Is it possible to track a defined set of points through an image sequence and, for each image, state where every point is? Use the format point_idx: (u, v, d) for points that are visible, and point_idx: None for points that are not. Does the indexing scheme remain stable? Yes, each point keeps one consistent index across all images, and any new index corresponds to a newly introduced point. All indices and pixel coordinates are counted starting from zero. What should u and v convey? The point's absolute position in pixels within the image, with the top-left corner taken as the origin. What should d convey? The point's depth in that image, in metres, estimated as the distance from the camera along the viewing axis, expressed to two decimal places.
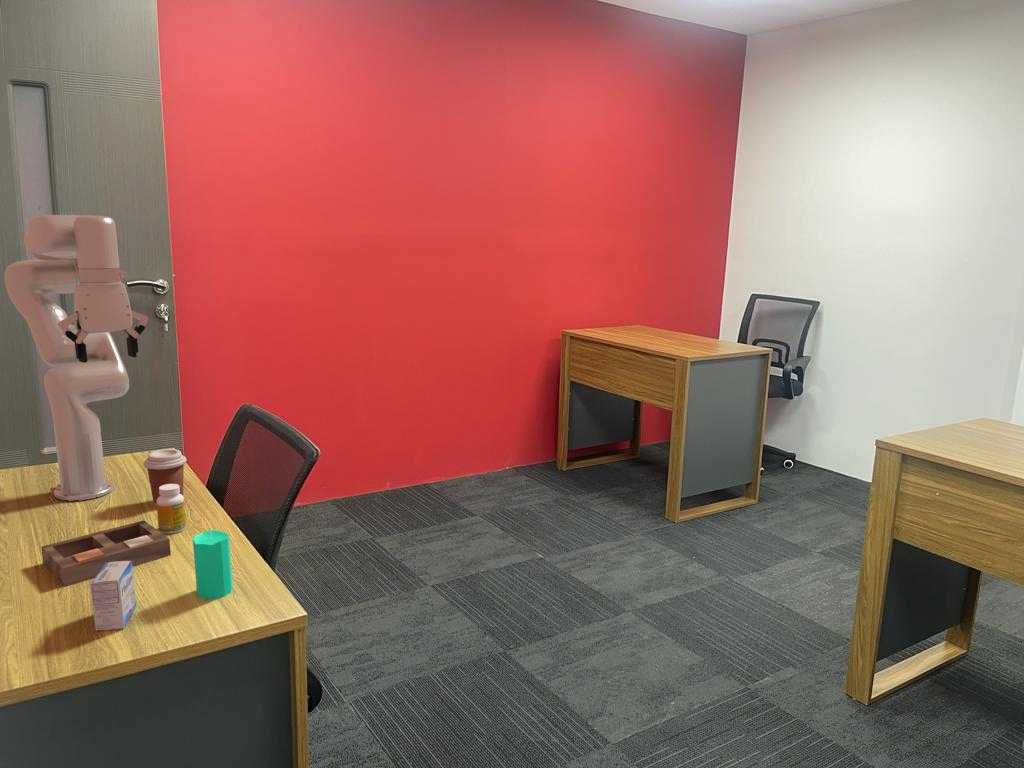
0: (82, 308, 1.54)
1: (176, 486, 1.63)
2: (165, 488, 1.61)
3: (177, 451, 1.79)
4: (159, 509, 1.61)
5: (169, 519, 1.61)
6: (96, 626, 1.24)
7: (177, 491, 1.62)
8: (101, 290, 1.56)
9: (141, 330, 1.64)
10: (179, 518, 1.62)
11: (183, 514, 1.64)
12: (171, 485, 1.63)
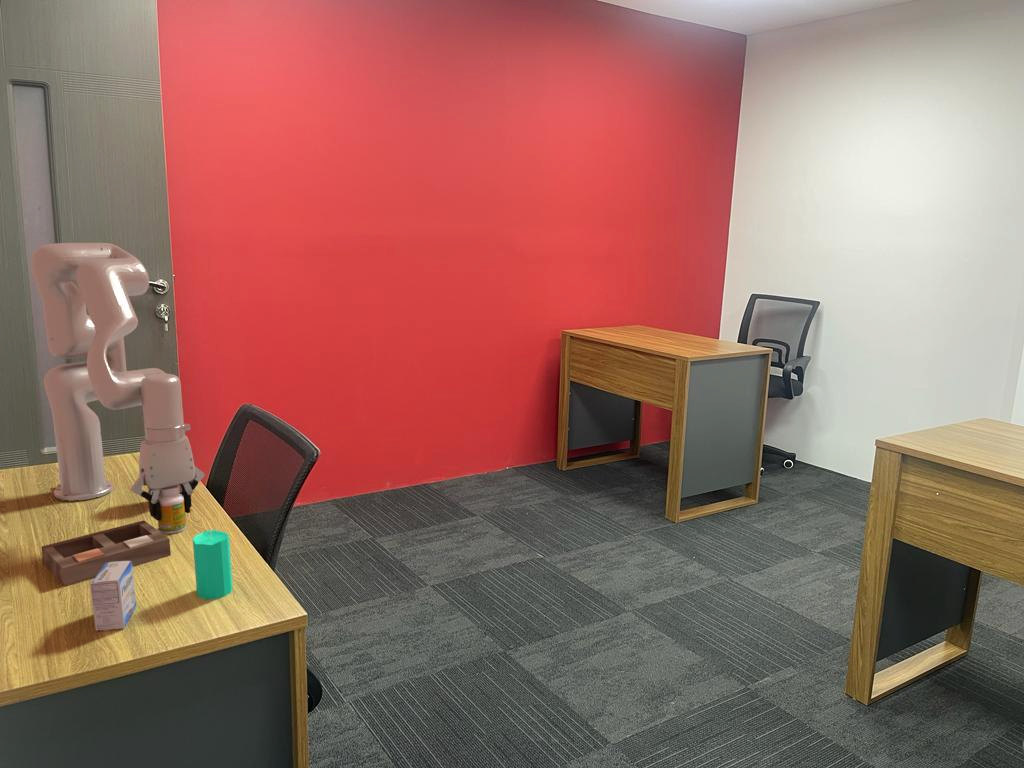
0: (148, 467, 1.57)
1: (176, 486, 1.63)
2: (165, 488, 1.61)
3: None
4: None
5: (169, 519, 1.61)
6: (96, 626, 1.24)
7: (177, 491, 1.62)
8: (167, 448, 1.58)
9: (194, 485, 1.66)
10: (179, 518, 1.62)
11: (183, 514, 1.64)
12: None
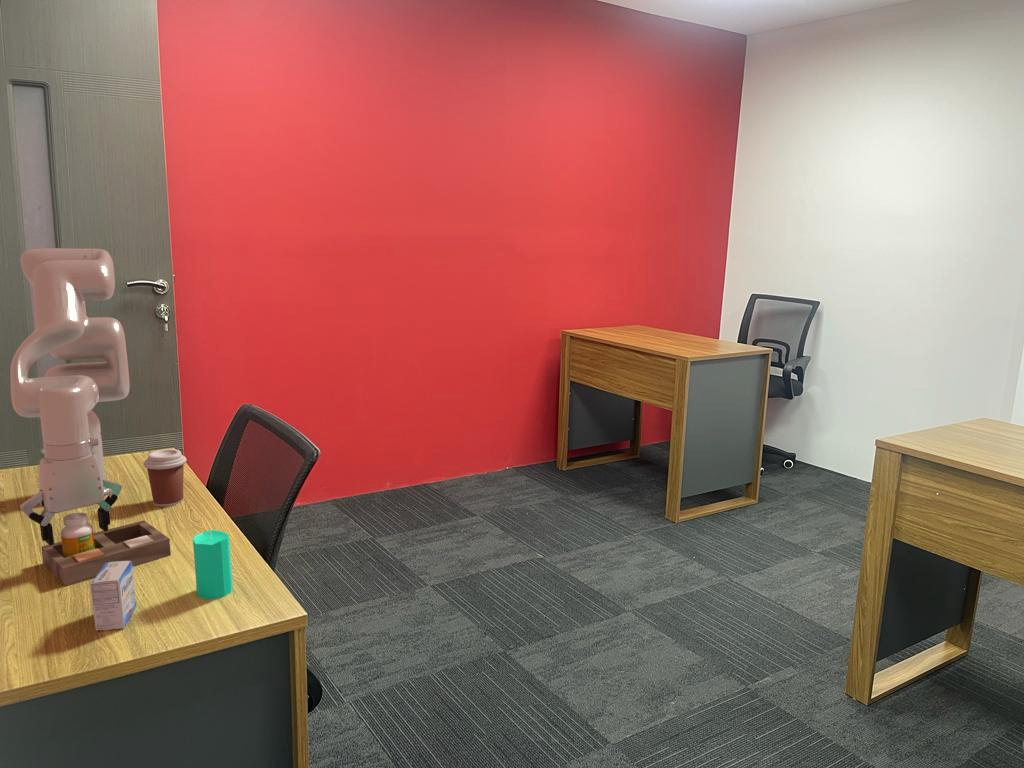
0: (47, 488, 1.40)
1: (83, 515, 1.46)
2: (70, 518, 1.45)
3: (177, 451, 1.79)
4: (63, 541, 1.44)
5: (74, 553, 1.45)
6: (96, 626, 1.24)
7: (84, 521, 1.46)
8: (69, 466, 1.41)
9: (113, 501, 1.50)
10: None
11: (91, 546, 1.47)
12: (78, 514, 1.47)
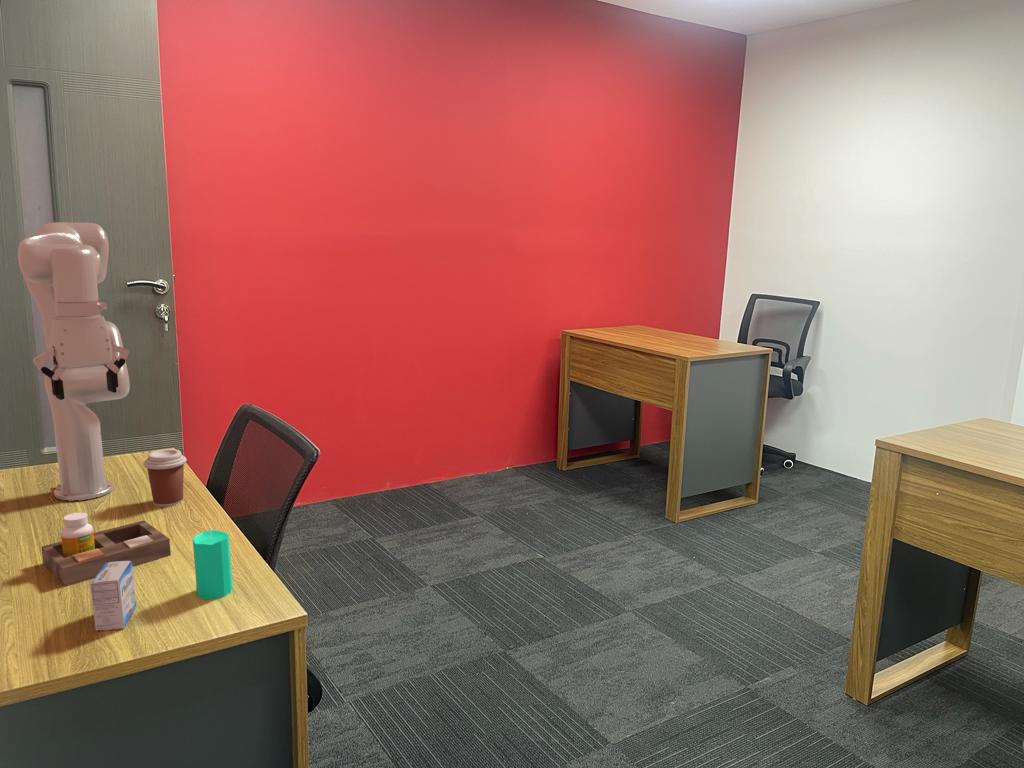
0: (59, 343, 1.48)
1: (83, 515, 1.46)
2: (70, 518, 1.45)
3: (177, 451, 1.79)
4: (63, 541, 1.44)
5: (74, 553, 1.45)
6: (96, 626, 1.24)
7: (84, 521, 1.46)
8: (79, 324, 1.49)
9: (121, 364, 1.58)
10: None
11: (91, 546, 1.47)
12: (78, 514, 1.47)
